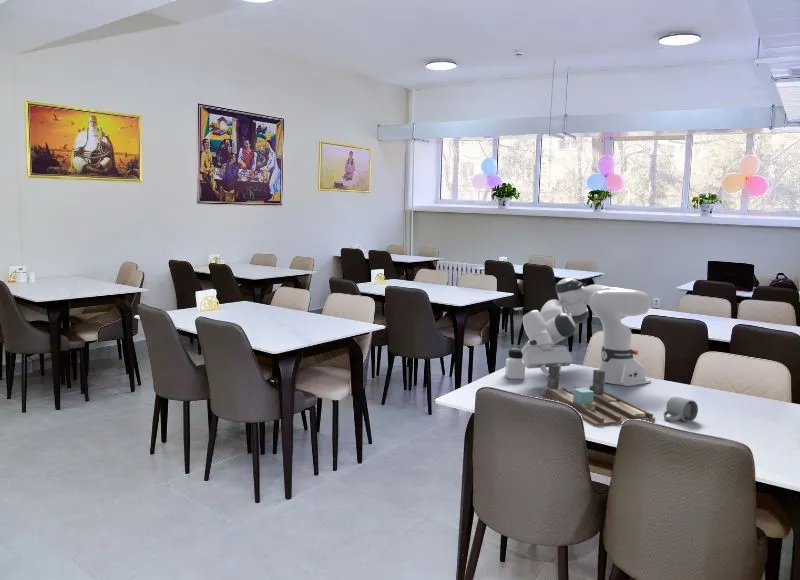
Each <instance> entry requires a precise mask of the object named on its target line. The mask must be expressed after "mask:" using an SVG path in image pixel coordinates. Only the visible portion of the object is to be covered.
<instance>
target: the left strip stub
mask: <svg viewBox="0 0 800 580" xmlns="http://www.w3.org/2000/svg"><path fill="white" fill-rule="evenodd" d="M592 371H593V374H592V385H591V386H592V391H593V392H594V394H593V395H596V396H598V397H600V398H602V399H604V400H606V401H608V402H617V400H616V399H614V398H612V397H610V396H608V395H606V394H604V391H605V382H604V379H605V371H603V370H600V369H593V370H592Z"/></svg>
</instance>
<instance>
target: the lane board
mask: <svg viewBox="0 0 800 580" xmlns="http://www.w3.org/2000/svg"><path fill="white" fill-rule="evenodd" d="M576 388H580V387H579V386H574V389H576ZM560 389H562V390H564V391H566V392H568V393H570V394H572V395H573V393H574V390H569V389H567V388H565V387H560ZM588 389H589V390H591V391H592V385H589V388H588ZM604 394H606V395H608V396H610V397H612V398H614V399H616V400H617V402H619V401H621V402H623V403H625V404H627V405H629V406H631V407H633V408H635V409H638V410H640V411H642V412H644V413H646V416H645V417H636V415H634V414H632V413H630V412H628V411H626V410H624V409H622V408H620V407H618V406H616V405H614V404H612V403H610V402H608V401H606V400H604V399H602V398H600V397H598V396H596V395H593V402H594V403H595V410H588V409H586V408H584V407H582V406H580V405H578V404H576V403H574V402H573V401H571V400H569V399H567V398H565V397H563V396H561V395H559V394H558V393H556V392H554V391H552V390H550V389H546V390H545V392H540V396H541V397H542V398H544V399H546V400H548V399H550V400H554V401H559V402H562V403H565V404H568V405H570V406H572V407H573V408H575V409H576V410H577V411H578V412H579V413H580V414H581V416H582V418H583V419H582V420H583V421H585V422H587V423H589V424H590V425H591V426H594V427H604V426H615V425H616V426H617V425H622V424H621V423H622V422H623V421H625V420H627V419H641V420H646V421H650V422H656V418H655V417H654V414H653V413H651V412H650V411H647V410H645V409H643V408H641V407H639V406H636V405H634V404H632V403H631V402H628V401H627V400H624V399H621V398H619V397H618V396H615V395H614V394H612V393H609V392H607V391H605V390H604ZM550 400H549V401H550Z"/></svg>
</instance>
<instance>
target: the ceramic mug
mask: <svg viewBox="0 0 800 580" xmlns="http://www.w3.org/2000/svg"><path fill="white" fill-rule="evenodd" d="M698 413H699V407H698V404H697V402H696V401H695V400H693V399H688V398H685V397H684V398H683V397H681V396H672V397H670V398H669V399H668V401H667V403H666V410H665V411H664V412H663V418H664V419H665V421H667V422H676V421H678V420H679V421H684V422H686V423H691V422H693V421H694V420H696V418H697V415H698ZM668 415H670V417H669V416H668Z"/></svg>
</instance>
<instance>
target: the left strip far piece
mask: <svg viewBox="0 0 800 580" xmlns="http://www.w3.org/2000/svg"><path fill="white" fill-rule="evenodd" d="M610 403H612V404H614V405H616V406H618V407H620V408H622V409H624V410H626V411H628V412H630V413H632V414H634V415H636V417H645V416H646V413H644V412H642V411H640V410H638V409H635V408H633V407H631V406H629V405H627V404H625V403H623V402H621V401H619V402H610Z"/></svg>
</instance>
